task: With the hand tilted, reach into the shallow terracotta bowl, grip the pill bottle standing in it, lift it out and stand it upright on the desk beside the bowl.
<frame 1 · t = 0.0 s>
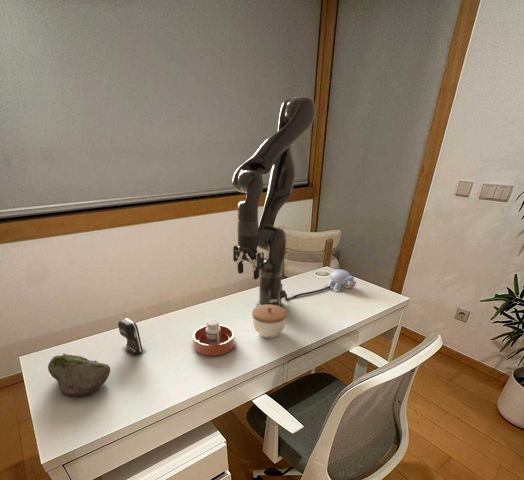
hand: (248, 275, 124), 17 cm above the table, tool pointing down, fingers open, 8 cm apart
lidded bowl: (268, 333, 122), on the table
stone: (84, 382, 96), on the table
terracotta bowl: (214, 345, 114), on the table
pill bottle: (214, 344, 114), resting on terracotta bowl
hippopotamus toy: (341, 288, 160), on the table
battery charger: (133, 351, 111), on the table
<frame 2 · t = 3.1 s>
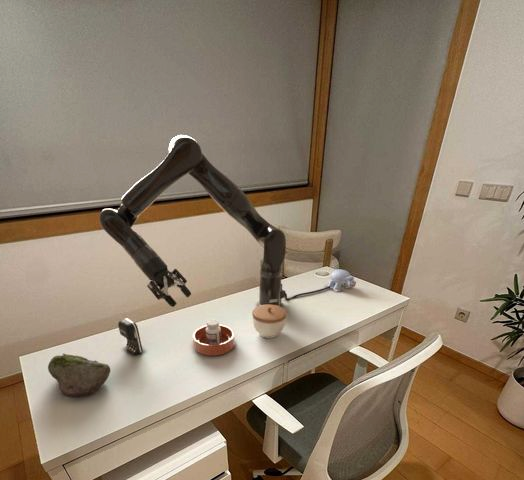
hand: (182, 300, 110), 15 cm above the table, tool tilted 45°, fingers open, 8 cm apart
nothing on the table moved.
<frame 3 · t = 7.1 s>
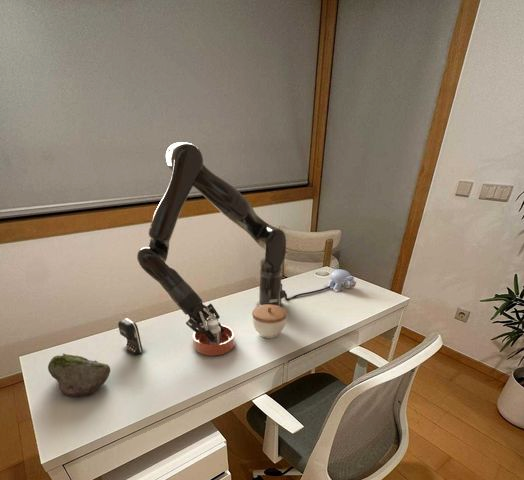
hand: (218, 335, 111), 5 cm above the table, tool tilted 45°, fingers closed on pill bottle, 5 cm apart
pill bottle: (214, 344, 114), resting on terracotta bowl, touching gripper
everything else where it was.
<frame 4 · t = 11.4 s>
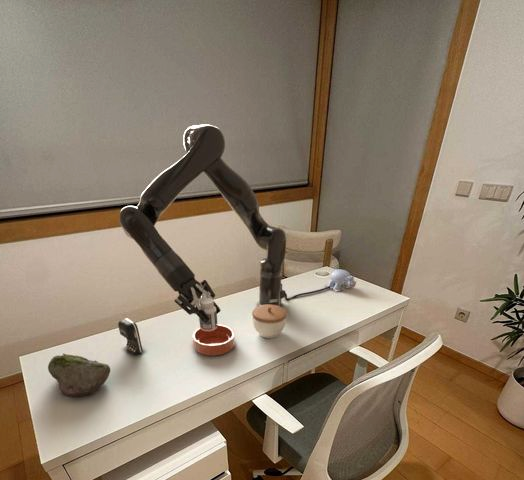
hand: (213, 316, 94), 18 cm above the table, tool tilted 45°, fingers closed on pill bottle, 5 cm apart
pill bottle: (208, 327, 97), point 14 cm above the table, touching gripper
everything else where it was.
when the fingers open (4 cm above the table, at t = 15.8 s): pill bottle stays where it is, on the table.
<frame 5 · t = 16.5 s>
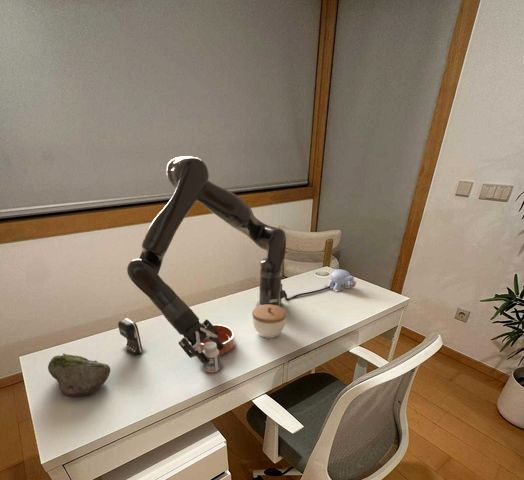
hand: (215, 355, 100), 5 cm above the table, tool tilted 45°, fingers open, 8 cm apart
pill bottle: (212, 368, 104), on the table
everything else where it was.
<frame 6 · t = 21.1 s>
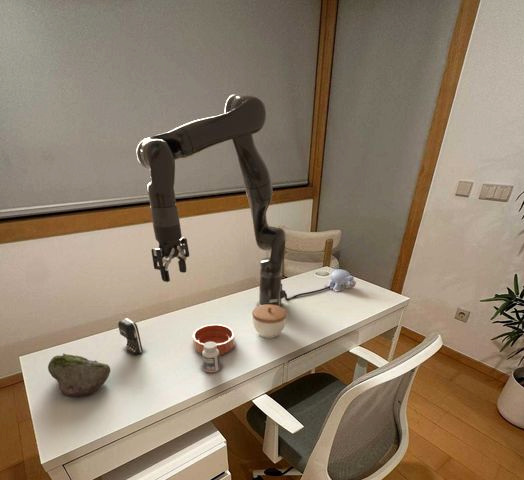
hand: (175, 276, 101), 25 cm above the table, tool pointing down, fingers open, 8 cm apart
nothing on the table moved.
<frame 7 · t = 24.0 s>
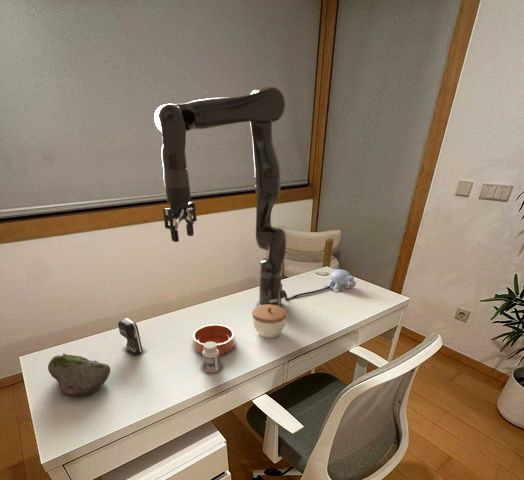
hand: (183, 238, 109), 33 cm above the table, tool pointing down, fingers open, 8 cm apart
nothing on the table moved.
at the end: pill bottle inside the target area (0.2 cm from its centre), on the table; pill bottle tilted 0°; pill bottle touching table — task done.
